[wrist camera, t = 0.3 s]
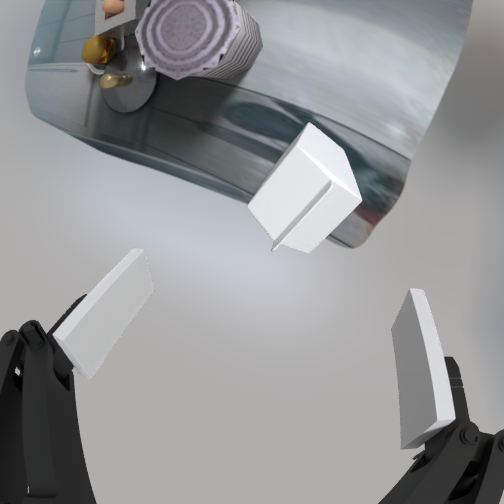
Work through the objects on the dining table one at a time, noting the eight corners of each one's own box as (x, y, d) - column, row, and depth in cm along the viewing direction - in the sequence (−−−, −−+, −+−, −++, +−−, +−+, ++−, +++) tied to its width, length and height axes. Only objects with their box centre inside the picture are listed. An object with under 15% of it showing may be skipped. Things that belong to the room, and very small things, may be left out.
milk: (282, 154, 36) (230, 225, 18) (309, 121, 32) (288, 151, 14) (317, 182, 37) (303, 280, 18) (345, 150, 33) (369, 219, 15)
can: (279, 24, 26) (258, -6, 16) (240, 93, 32) (204, 93, 22) (205, 0, 25) (161, -26, 15) (171, 65, 32) (119, 62, 22)
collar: (120, 2, 26) (96, -3, 21) (158, -14, 24) (136, -23, 19) (119, 38, 30) (94, 36, 25) (158, 24, 28) (135, 18, 23)
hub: (104, 58, 32) (79, 58, 27) (157, 40, 29) (133, 35, 25) (108, 116, 38) (84, 123, 33) (161, 105, 35) (138, 109, 30)
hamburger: (76, 61, 33) (55, 63, 29) (111, 9, 27) (90, 5, 22) (107, 95, 36) (85, 99, 32) (148, 40, 30) (126, 36, 26)
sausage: (133, 9, 26) (102, 1, 20) (144, 4, 26) (114, -4, 20) (132, 19, 28) (101, 13, 21) (144, 15, 27) (113, 8, 21)
